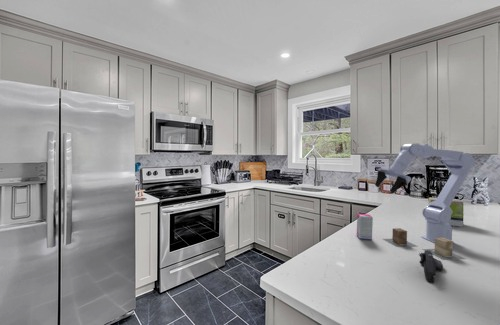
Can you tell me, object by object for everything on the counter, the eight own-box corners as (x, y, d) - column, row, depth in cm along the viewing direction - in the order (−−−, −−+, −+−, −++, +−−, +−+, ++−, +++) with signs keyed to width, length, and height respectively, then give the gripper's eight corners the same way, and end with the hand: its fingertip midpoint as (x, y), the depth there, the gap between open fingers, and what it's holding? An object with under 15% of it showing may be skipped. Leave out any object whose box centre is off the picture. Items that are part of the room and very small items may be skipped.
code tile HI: (443, 248, 99) (443, 248, 99) (466, 259, 89) (466, 259, 89) (421, 249, 98) (421, 249, 98) (443, 260, 88) (443, 259, 88)
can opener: (418, 260, 88) (419, 246, 88) (442, 266, 83) (442, 251, 83) (416, 280, 74) (416, 263, 74) (444, 287, 70) (444, 270, 69)
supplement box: (372, 240, 108) (373, 216, 108) (359, 239, 109) (359, 216, 109) (368, 236, 114) (369, 213, 113) (356, 235, 115) (356, 213, 115)
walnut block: (400, 240, 108) (400, 228, 107) (406, 244, 104) (407, 231, 103) (392, 241, 107) (392, 228, 107) (398, 244, 103) (398, 231, 103)
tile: (401, 238, 111) (401, 238, 111) (418, 246, 101) (418, 246, 101) (382, 239, 110) (382, 238, 110) (397, 247, 100) (397, 247, 100)
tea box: (459, 223, 138) (459, 199, 137) (463, 227, 129) (464, 201, 129) (428, 219, 146) (428, 196, 145) (430, 223, 137) (430, 199, 137)
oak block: (441, 251, 96) (442, 237, 96) (452, 255, 92) (452, 240, 92) (434, 252, 95) (434, 238, 94) (444, 256, 91) (445, 241, 91)
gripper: (382, 157, 110) (366, 179, 110) (413, 165, 98) (395, 190, 97) (387, 164, 114) (372, 186, 113) (418, 173, 101) (401, 197, 101)
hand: (383, 188), depth 106 cm, fingers open, 7 cm apart
